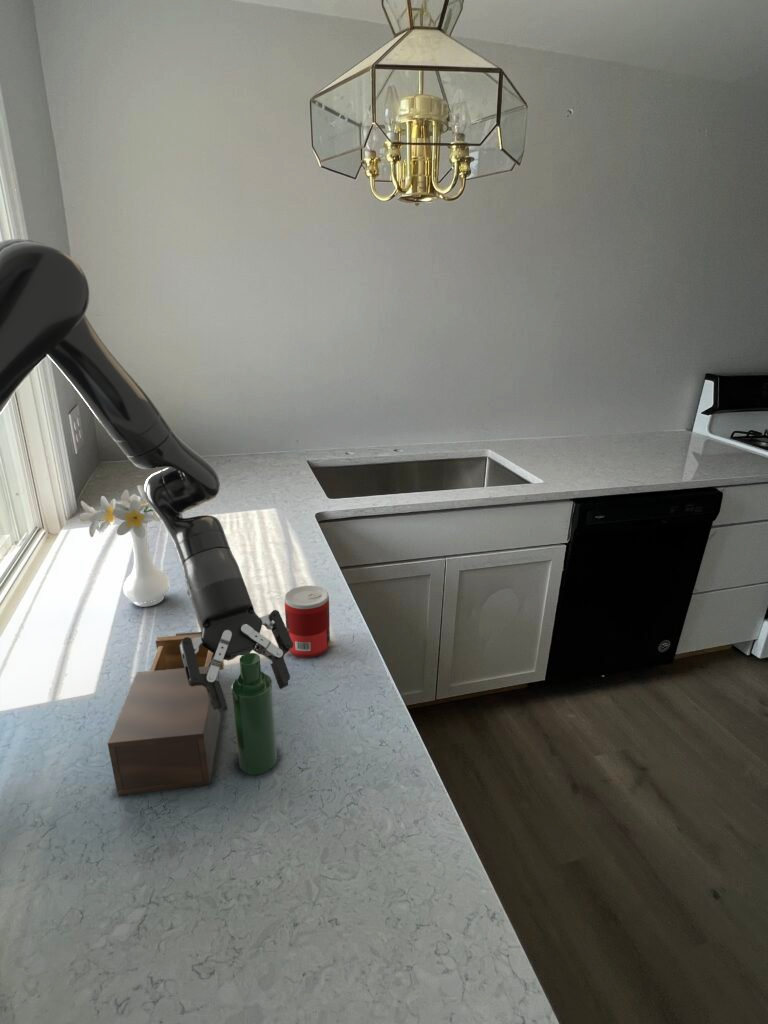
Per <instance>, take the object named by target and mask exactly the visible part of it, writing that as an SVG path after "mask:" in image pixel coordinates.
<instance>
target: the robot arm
mask: <svg viewBox="0 0 768 1024" xmlns="http://www.w3.org/2000/svg"><path fill="white" fill-rule="evenodd" d="M88 282H89V281H88V278H87V276H86V274H85V272H84V270H83V269H82V267H81V266H80V264H79V263H78V262H77V261H76V260H75V259H74V258H73V257H71V256H70V255H69V254H68V253H66V252H64V251H63V250H61V249H58V248H56V247H54V246H52V245H49V244H46V243H43V242H39V241H35V240H31V239H23V238H22V239H21V238H10V239H5V240H2V241H0V415H1V414H2V412H3V411H4V410H5V408H6V406H7V405H8V403H9V402H10V401H11V399H12V397H14V394H15V393H16V392H17V390H18V389H19V388H20V386H21V385H22V384H23V383H24V381H25V380H26V379H27V378H28V377H29V376H30V374H31V373H32V372H33V371H34V370H35V369H36V368H37V367H38V365H40V363H42V362H43V360H44V359H46V358H47V356H48V358H49V359H50V360H51V361H52V362H53V363H54V364H55V365H56V367H57V368H58V369H59V370H60V372H61V373H62V374H63V375H64V376H65V378H66V379H67V380H68V381H69V382H70V384H71V385H72V386H73V388H74V389H75V390H76V391H77V393H78V394H79V396H80V397H81V399H83V401H84V402H85V404H86V405H87V406H88V407H89V409H90V410H91V412H92V413H93V414H94V416H95V417H96V419H97V420H98V422H99V423H100V424H101V425H102V426H103V428H104V429H105V431H106V432H107V433H108V435H109V436H110V437H111V439H112V440H113V441H114V443H115V444H116V445H117V446H118V447H119V448H120V449H121V451H122V453H123V454H124V455H125V456H126V458H127V459H128V460H129V461H130V462H131V463H132V465H134V466H135V467H136V468H137V469H142V470H151V469H158V468H164V467H166V468H164V469H161V470H159V471H156V472H154V473H152V474H151V475H150V476H148V477H147V479H146V480H145V482H144V485H143V487H144V495H145V498H146V500H147V502H148V504H149V505H150V507H151V508H152V509H153V511H154V512H155V513H156V515H157V516H158V517H159V519H160V522H161V523H162V524H163V526H164V528H165V529H166V531H167V533H168V535H169V537H170V538H171V540H172V542H173V544H174V547H175V550H176V552H177V556H178V559H179V562H180V565H181V569H182V572H183V578H184V583H185V586H186V592H187V595H188V597H189V598H190V601H191V605H192V608H193V611H194V614H195V617H196V620H197V623H198V627H199V629H200V632H201V636H199V637H196V638H192V639H191V638H189V637H185V638H184V639H183V640H182V642H181V644H180V651H181V656H182V660H183V664H184V668H185V672H186V676H187V680H188V684H189V685H190V686H204V687H205V688H206V690H207V693H208V696H209V699H210V702H211V705H212V708H213V709H214V710H216V709H218V711H219V713H221V714H222V713H224V712H226V711H227V710H228V704H227V701H226V697H225V695H224V691H223V689H222V686H221V683H220V680H218V681H216V677H217V674H218V675H219V672H220V670H219V669H220V666H221V664H222V661H223V659H224V661H232V660H234V659H236V657H238V656H239V657H240V656H243V655H245V654H248V653H252V651H254V653H256V654H258V655H261V656H263V657H265V658H266V659H268V660H269V661H271V663H270V666H271V669H272V673H273V675H274V677H275V680H276V683H277V686H278V689H279V690H283V689H285V688H287V687H288V686H289V681H290V680H291V674H290V672H289V669H288V667H287V664H286V660H285V655H286V654H287V653H288V652H290V651H289V650H290V649H291V648H292V647H293V642H292V640H291V638H290V636H289V633H288V631H287V629H286V623H284V620H283V618H282V616H281V614H280V611H279V610H277V609H273V610H272V611H270V613H267V614H265V615H262V616H259V615H258V614H257V613H256V612H255V608H254V604H253V602H252V600H251V597H250V594H249V592H248V589H247V585H246V584H245V583H246V582H245V580H244V578H243V575H242V572H241V569H240V566H239V564H238V562H237V560H236V558H235V556H234V554H233V552H232V550H231V547H230V544H229V541H228V539H227V536H226V533H225V531H224V527H223V525H222V523H221V521H220V519H218V518H217V516H214V515H209V514H205V515H203V514H202V515H196V516H191V517H184V516H183V514H185V513H186V512H189V511H192V510H193V509H195V508H197V507H200V506H202V505H204V504H207V503H209V502H211V501H213V500H214V499H216V497H217V496H218V494H220V493H219V492H220V487H221V484H220V483H221V482H220V478H219V475H218V473H217V471H216V470H215V468H214V467H213V466H212V465H211V464H210V463H209V462H208V460H206V459H205V458H204V457H203V456H201V455H200V454H199V453H197V452H196V451H195V450H193V448H191V447H190V446H189V445H188V444H186V442H184V441H183V440H182V439H181V438H180V437H179V436H178V435H177V434H176V433H175V432H174V430H173V429H172V428H171V426H170V424H169V423H168V421H166V419H165V417H164V416H163V414H162V413H161V412H160V410H159V408H158V407H157V406H156V404H155V403H154V401H152V399H151V398H150V397H149V395H148V394H147V392H146V391H144V389H143V388H142V387H141V385H139V384H138V382H137V381H136V380H135V379H134V378H133V377H132V375H131V374H130V373H129V372H128V371H127V369H125V367H124V366H123V365H122V364H121V363H120V362H119V360H117V358H116V357H115V356H114V355H113V353H112V352H111V351H110V350H109V348H107V346H106V345H105V343H104V342H103V341H102V339H101V338H100V336H99V335H98V333H97V332H96V331H95V329H94V327H93V325H92V323H90V321H89V319H88V317H87V316H86V313H87V310H88V307H89V303H90V286H89V283H88ZM153 511H152V512H153ZM154 512H153V513H154ZM263 626H264V627H265V628H266V629H267V630H269V631H271V633H272V635H273V637H274V640H275V642H276V644H277V645H275V644H274V643H272V641H271V640H270V639H268V638H267V637H266V636H264V635H263V634H261V631H262V627H263ZM201 644H202V646H204V647H205V648H207V649H208V650H209V651H211V652H212V653H213V655H212V657H211V660H210V663H209V666H208V669H207V672H206V674H200V671H199V667H198V664H197V660H196V656H195V655H196V654H197V653H198V651H199V645H201Z"/></svg>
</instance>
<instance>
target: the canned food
mask: <svg viewBox="0 0 768 1024" xmlns="http://www.w3.org/2000/svg"><path fill="white" fill-rule="evenodd" d="M284 616H285V617H284V618H285V627H286V629H287V631H288V633H289V636H290V638H291V640H292V642H293V647H292V648H291V649H290V650H289V651H288V652H289V653H290V654H292V655H293V656H295V657H297V658H304V659H306V658H307V659H309V658H315V657H319V656H321V655H322V654H324V653H326V652H327V650H328V649H329V646H330V643H331V629H330V627H331V626H330V625H331V624H330V595H329V591H327V589H325V588H323V587H321V586H317V585H301V586H298V587H294V588H291V589H290V590H288V591H287V592H286V593H285V595H284Z"/></svg>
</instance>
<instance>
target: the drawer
mask: <svg viewBox="0 0 768 1024" xmlns="http://www.w3.org/2000/svg"><path fill="white" fill-rule="evenodd" d="M199 636H201V631H193V632H179V633H175V635H169V636H167V635H165V636H156V639H155V647H156V652H155V655H154V657H153V660H152V663H151V665H150V668H149V670H148V671H156V670H168V669H180V668H184V664H183V660H182V656H181V651H180V644H181V642H182V640H183V639H184V638H185V637H189V638H191V639H192V638H196V637H199ZM212 655H213V653H212V652H211V651H209V650H208V649H207V648H205V647H204V646H202V644H201V645H199V651H198V653H197V654H196V655H195V656H196V660H197V664H198V667H204V666H209V663H210V660H211V657H212ZM224 670H225V660H224V659H223V661H222V664H221V666H220V669H219V671H224Z"/></svg>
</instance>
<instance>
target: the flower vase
mask: <svg viewBox="0 0 768 1024" xmlns="http://www.w3.org/2000/svg"><path fill="white" fill-rule="evenodd" d="M137 490H138V492H139V494H140V496H138V495H137V493H134V494H132V495H130V493H129V492H130V491H129V490H128V489H124V491H123V492H122V494H121V496H120V497H121V498H120V500H116V499H115V498H113V499H111V500H110V502H109V501H108V499H107V497H106V496H104V495H102V496H100V505H101V508H102V509H103V510H99V511H97V510H95V508H94V507H93V506H90V505H88V503H86V502H85V501H83V500H80V505H81V507H82V508H83V510H84V511H85V512H86V513H81V514H80V515H79V521H80V522H81V523H82V524H89V528H88V532H89V533H88V534H89V536H90V537H91V538H93V537H94V535H95V533H96V531H97V532H98V534H99V535H102V534H103V533H104V532H105V530H107V528H109V525H110V526H113V525H115V523H116V519H118V520H120V521H122V522H121V523H120V524H119V525H118V527H117V529H116V534H117V535H118V536H124V535H127V534H128V533H130V537H131V541H132V542H131V543H132V550H133V567H132V571H131V573H130V574H129V575H128V576H127V577H126V579H125V581H124V583H123V586H122V592H123V594H124V596H125V597H126V598H127V599H129V600H130V601H132V603H133V604H134V605H135V606H137V607H145V608H147V607H152V606H155V605H159V604H160V603H161V602H163V601H164V598H165V596H166V594H167V593H168V592H169V590H170V587H171V581H170V577H169V576H168V575H167V574H166V573H165V572H164V571H162V570H161V569H159V568H158V567H157V566H156V564H155V563H154V561H153V559H152V555H151V551H150V550H151V549H150V546H149V540H148V523H151V522H152V521H153V520H154V521H155V522H159V521H160V522H161V520H160V519H159V517H158V516H157V515H156V513H155V512H154V511H153V509H152V508H151V507H150V505H149V504H148V502H147V500H146V498H145V495H144V485H140V484H138V485H137ZM141 511H143V512H142V513H141ZM149 512H153V513H149ZM154 600H155V601H154ZM151 601H152V602H151ZM141 602H143V603H141ZM144 602H146V603H144Z"/></svg>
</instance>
